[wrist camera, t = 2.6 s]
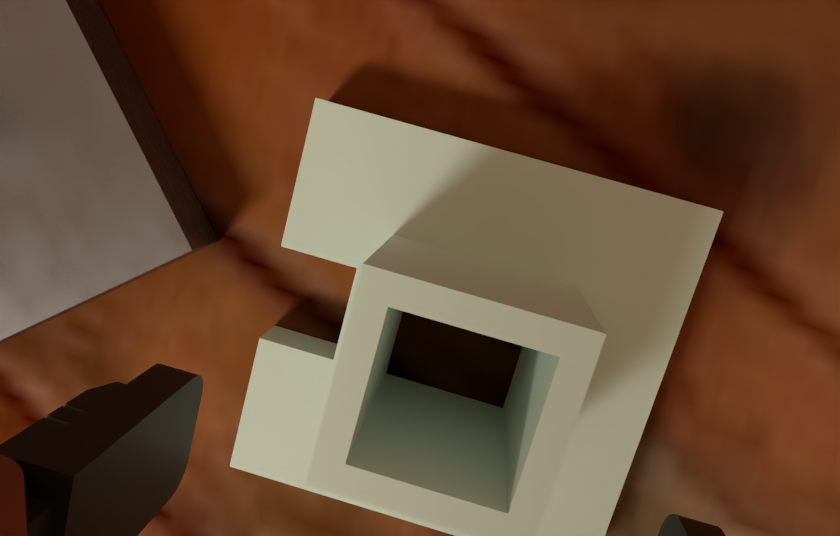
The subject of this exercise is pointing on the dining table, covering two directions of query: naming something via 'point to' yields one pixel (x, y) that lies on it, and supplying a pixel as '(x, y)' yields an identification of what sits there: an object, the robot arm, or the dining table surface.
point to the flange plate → (478, 312)
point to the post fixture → (80, 167)
